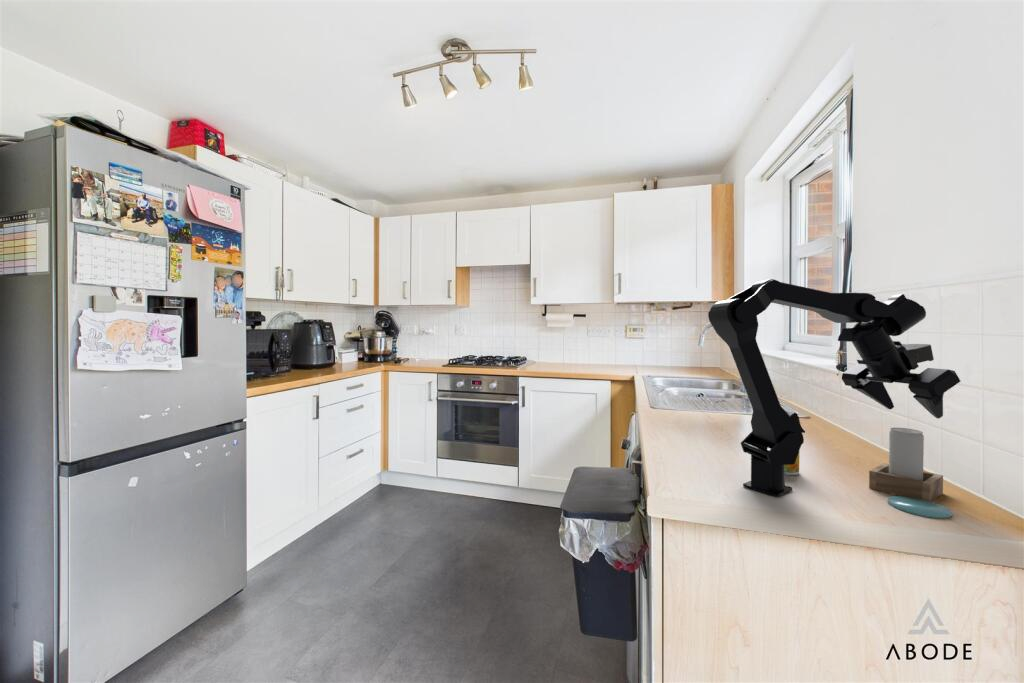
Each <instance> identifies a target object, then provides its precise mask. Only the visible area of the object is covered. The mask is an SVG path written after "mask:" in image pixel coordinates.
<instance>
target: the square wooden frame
mask: <svg viewBox="0 0 1024 683" xmlns="http://www.w3.org/2000/svg"><path fill="white" fill-rule="evenodd" d="M868 472H869V473H868V474H869V477H868V483H869V484H868V487H869V489H873V490H877V491H880V492H884V493H888V494H890V495H891V494H892V495H894V496H904V497H912V498H918V499H922V500H926V501H930V502H933V501H934V500H936V499H937V498H938V496H939V497H940V496H941V495H943V493H944V475H943V474H939V473H934V472H930V471H924V470H923V481H920V480H915V479H911V478H906V477H902V476H897V475H893V474H889V463H882V464H880V465H878V466H875V467H874V468H872V469H870V470H868Z"/></svg>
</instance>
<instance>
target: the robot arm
mask: <svg viewBox="0 0 1024 683" xmlns="http://www.w3.org/2000/svg"><path fill="white" fill-rule="evenodd" d="M772 303H773V304H778V305H782V306H785V307H786V306H787V307H792V308H795V309H800V310H805V311H809V312H814V313H816V314H819V315H820V317H822V318H823V319H826V320H829V321H831V322H833V323H836V324H850V323H851V324H853V323H856V324H854V325H853V326H851V327H842V329H841V332H840V334H839V336H838V337H837V341H838V342H850V343H852V345H853V346H854V348H855V349H856V352H857V353H858V355H859V356H860V357H859V358H857V359H856V364H854V365H853V366H851V367H850V368H848V369H847V370H845V371H843V372H842V375H841V381H842V382H843V383H844V385H845V386H848V387H851V389H854V390H857V391H858V392H860V393H861V394H863V395H865V396H867V397H868V398H870V399H872V400H874V401H875V402H876V403H878V404H879V405H881V406H882V407H884V408H885V409H887V410H893V409H894V408H895V406H894V403H893V400H892V398H891V396H890V394H889V392H888V391H887V388H886V386H885V384H884V383H888V384H893V383H900V384H906V385H907V384H908V386H907V387H908V389H909V391H910V393H912V394H914V395H913V396H912V397H913V398H914V400H916V401H917V402H918V403H919V404H920V405H921V406H922V407H923V408H924V409H926V411H928V413H930V415H932V416H933V417H934V418H936V419H938V420H940V418H942V417H943V416H944V394H945V393H946V392H948V391H949V390H951V389H952V388H953V387H955V386H956V385H958V384H959V383H960V382H961V380H960V377H959V376H958V373H956V371H955V370H952V369H947V368H937V367H936V368H935V367H934V368H932V367H927V368H926V369H924V370H923V371H921V372H920V373H915V372H911V371H912V370H913V371H914V370H916V369H917V368H919V367H920V366H919V363H925V362H932V361H934V353H933V349H932V345H931V344H930V343H928V344H927V343H902V342H901V341H900V340H893V339H892V337H898V336H900V335H902V334H904V333H905V332H907V331H908V330H910V329H912V327H914V326H916V325H917V324H919V323H920V322H922V321H923V320H924V319H925V318H926V316H927V312H926V308H925V307H924V306H923V305H920V303H918V302H917V301H915V300H914V299H913V300H912V299H910V298H907V297H906V295H905V294H903V293H901V294H893V295H891V296H890V297H888V299H886V301H884V302H882V301H879V300H877V299H876V296H875V295H874V294H871V293H868V292H829V291H825V290H820V289H814V288H811V287H805V286H800V285H796V284H792V283H787V282H783V281H782V282H781V281H779V280H776V279H773V278H771V279H766V280H761V281H760V280H759V281H756V282H754V283H753V284H751V285H750V286H748V287H747V288H745V289H743V290H742V291H740V292H737V293H736V294H734V295H733V296H730V297H729V298H728V299H726V300H720V301H716V302H715V303H714V304H712V306H711V307H710V309H709V311H708V314H707V316H708V321H709V323H710V324H711V326H712V328H713V329H714V331H715V333H716V334H717V336H719V337H720V339H722V341H724V343H726V344H727V346H728V347H729V349H730V352H731V355H732V358H733V360H734V363H735V365H736V369H737V371H738V373H739V376H740V379H741V381H742V382H741V383H742V385H743V387H744V389H745V392H746V395H747V397H748V399H749V403H750V406H751V407H752V415H751V420H750V425H751V430H752V431H751V432H750V433H749V434H748V435H747V436H746V437H745V438H744V439H743V440H742V441H740V446H741V448H742V451H743V452H744V453H746V454H749V455H751V456H750V480H749V481H746V482H743V483H742V486H743V487H744V488H749V489H751V490H754V491H757V492H760V493H764V494H766V495H770V496H773V497H780V496H783V495H785V494H788V493H789V492H791V491H793V487H792V486H789V485H786V481H785V480H786V478H785V477H786V476H785V465H793V464H795V461H796V458H797V456H798V453H799V454H800V449H801V447H802V445H803V444H804V440H805V439H804V434H805V433H806V430H804V428H803V427H802V425H801V421H800V417H799V415H798V413H797V412H793V411H790V410H786V409H784V408H783V407H782V405H781V403H780V400H779V397H778V394H777V392H776V390H775V387H774V384H773V382H772V380H771V376H770V374H769V371H768V368H767V366H766V363H765V361H764V358H763V357H764V356H763V355H762V353H761V350H760V348H759V344H758V341H757V333H758V330H759V322H758V321H759V320H758V315H760V314H762V313H763V312H764V311H766V310H767V308H768V307H769V306H770V305H771V304H772ZM891 336H892V337H891ZM803 433H804V434H803ZM769 449H770V450H769Z"/></svg>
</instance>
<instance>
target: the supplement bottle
mask: <svg viewBox="0 0 1024 683" xmlns="http://www.w3.org/2000/svg"><path fill="white" fill-rule="evenodd" d="M799 473H800V452H799V453H798V456H797V458H796V461H795V464H793V465H785V475H786V476H796V475H799Z"/></svg>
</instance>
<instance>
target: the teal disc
mask: <svg viewBox="0 0 1024 683" xmlns="http://www.w3.org/2000/svg"><path fill="white" fill-rule="evenodd" d="M887 503H888V504H889V505H890V506H891V507H894V509H897V510H899V511H902V512H905V513H908V514H912V515H916V516H920V517H926V518H932V519H941V518H945V519H950V517H951V518H952V517H953V511H952V510H951V509H949V508H948V507H946V506H944V505H942V504H939V503H936V502H933V501H932V502H930V501H926V500H922V499H918V498H912V497H904V496H899V495H893V496H889V497H887Z"/></svg>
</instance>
